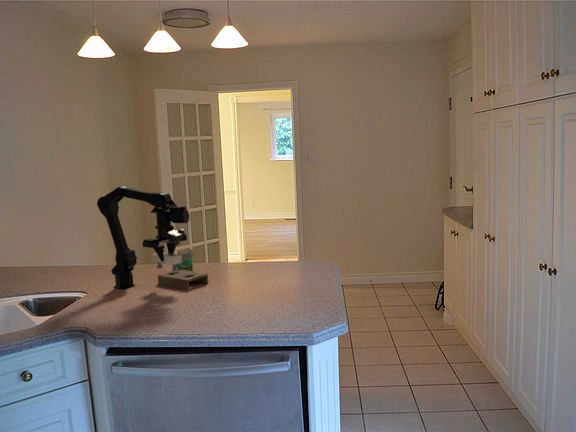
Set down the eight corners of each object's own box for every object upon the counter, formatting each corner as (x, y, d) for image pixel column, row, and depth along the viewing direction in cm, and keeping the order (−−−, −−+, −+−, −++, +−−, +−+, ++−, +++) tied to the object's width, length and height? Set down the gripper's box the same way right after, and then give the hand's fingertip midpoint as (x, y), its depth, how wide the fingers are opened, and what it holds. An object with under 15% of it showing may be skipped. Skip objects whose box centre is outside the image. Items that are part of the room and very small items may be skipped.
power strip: (174, 271, 210) (173, 255, 209) (152, 268, 218) (151, 252, 217) (182, 269, 213) (181, 254, 212) (160, 266, 221) (159, 250, 220)
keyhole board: (187, 289, 213) (186, 280, 213) (158, 284, 224) (157, 275, 223) (208, 282, 223) (207, 273, 222) (179, 277, 233) (178, 269, 233)
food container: (180, 277, 234) (179, 255, 233) (171, 275, 238) (170, 254, 236) (200, 271, 244) (199, 250, 242) (191, 269, 247) (190, 249, 246)
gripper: (158, 228, 201) (161, 267, 203) (194, 221, 215) (197, 258, 217) (140, 226, 208) (143, 264, 210) (176, 219, 222) (179, 255, 224)
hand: (166, 260), depth 215 cm, fingers closed on power strip, 4 cm apart
